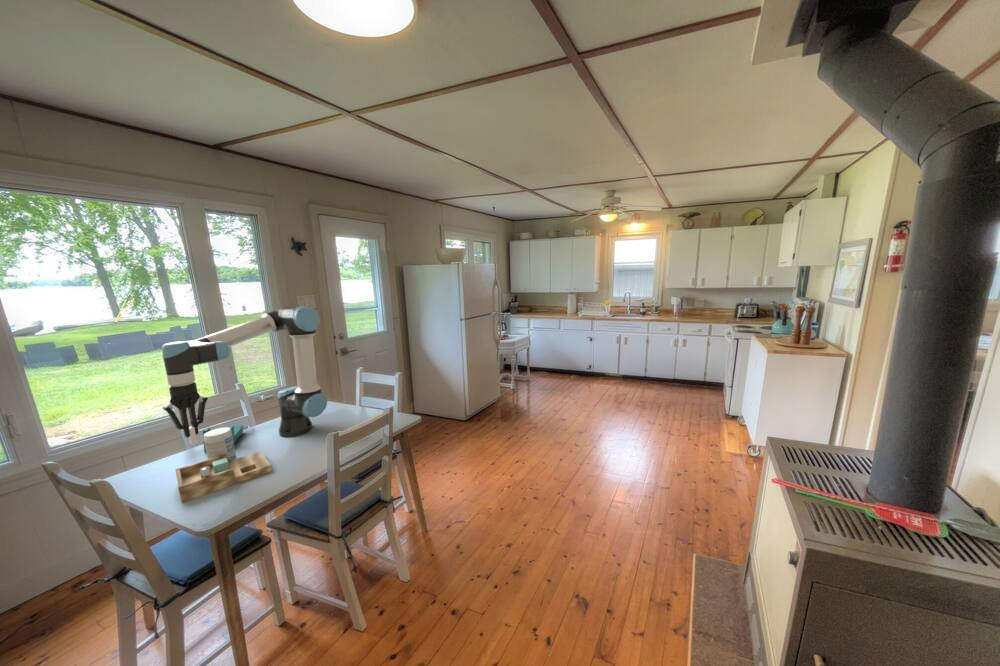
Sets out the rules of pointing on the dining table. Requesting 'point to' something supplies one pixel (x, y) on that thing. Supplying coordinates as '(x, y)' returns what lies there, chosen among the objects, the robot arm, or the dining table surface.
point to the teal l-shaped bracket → (235, 430)
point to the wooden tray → (219, 475)
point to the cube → (220, 465)
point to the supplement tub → (220, 443)
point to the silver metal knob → (205, 472)
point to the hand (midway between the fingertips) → (193, 443)
